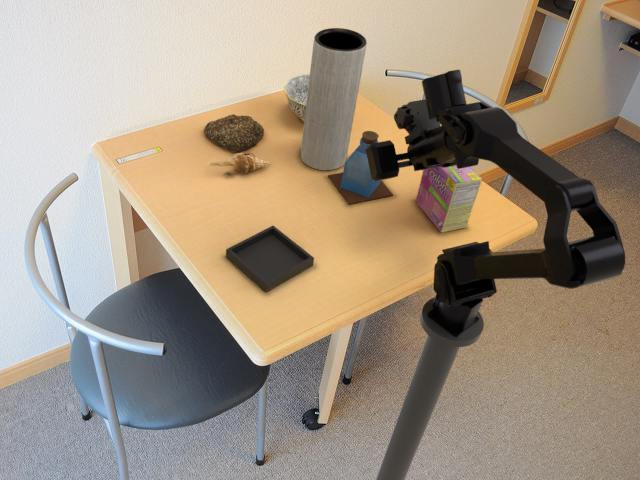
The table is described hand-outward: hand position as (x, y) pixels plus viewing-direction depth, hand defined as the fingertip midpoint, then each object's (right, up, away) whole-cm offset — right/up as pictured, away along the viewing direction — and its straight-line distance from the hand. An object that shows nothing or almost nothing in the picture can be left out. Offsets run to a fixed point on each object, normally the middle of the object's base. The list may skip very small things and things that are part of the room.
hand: (395, 163), depth 120 cm
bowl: (-11, +16, +35) cm, 40 cm away
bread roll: (-30, +10, +28) cm, 42 cm away
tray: (-23, -18, -2) cm, 30 cm away
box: (+11, -9, +10) cm, 17 cm away
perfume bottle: (-4, -2, +15) cm, 16 cm away
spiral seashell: (-29, +1, +18) cm, 34 cm away
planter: (-10, +5, +23) cm, 26 cm away
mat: (-4, -2, +16) cm, 16 cm away
